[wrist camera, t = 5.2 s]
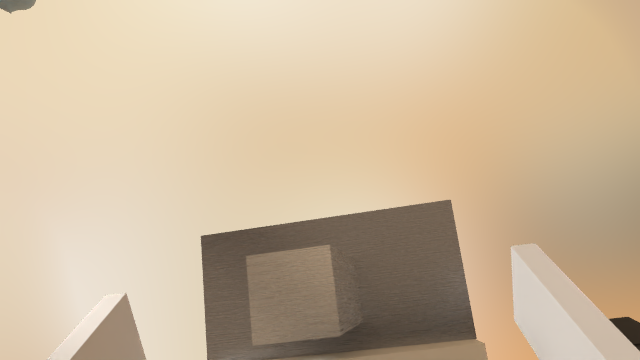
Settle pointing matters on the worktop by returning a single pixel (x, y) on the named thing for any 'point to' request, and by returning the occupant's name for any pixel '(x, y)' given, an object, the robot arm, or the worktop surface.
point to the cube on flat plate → (336, 285)
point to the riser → (411, 352)
